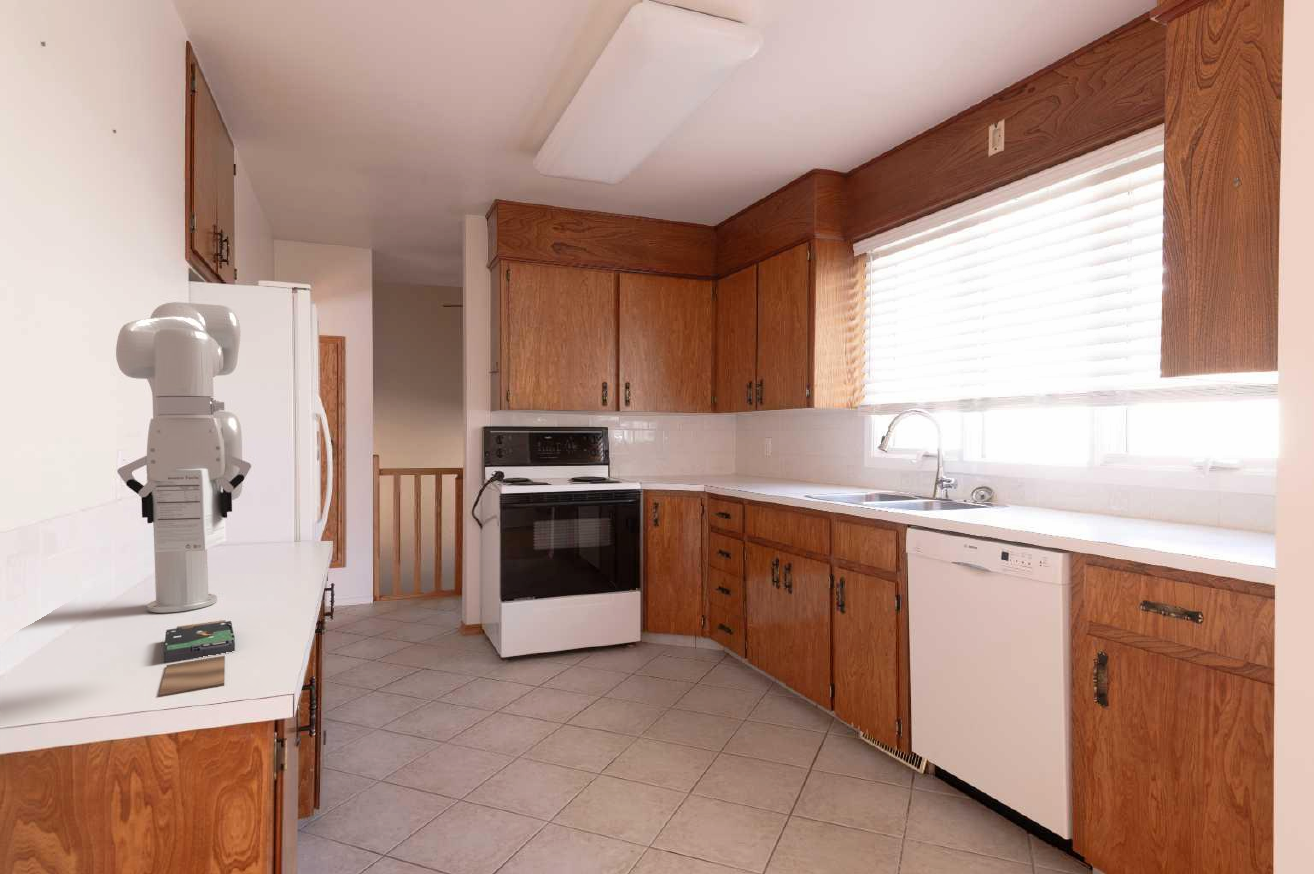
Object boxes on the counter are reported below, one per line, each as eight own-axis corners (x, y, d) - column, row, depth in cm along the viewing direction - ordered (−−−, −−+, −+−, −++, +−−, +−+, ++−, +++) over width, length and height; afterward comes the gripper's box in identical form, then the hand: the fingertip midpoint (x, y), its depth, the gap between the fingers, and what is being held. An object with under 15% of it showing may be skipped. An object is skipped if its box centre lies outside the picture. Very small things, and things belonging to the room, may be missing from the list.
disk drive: (165, 645, 128) (163, 666, 116) (164, 629, 128) (163, 649, 116) (231, 634, 134) (236, 654, 122) (231, 620, 134) (236, 637, 122)
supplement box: (178, 544, 114) (176, 466, 114) (227, 542, 115) (225, 465, 115) (152, 552, 107) (149, 469, 106) (204, 551, 108) (202, 468, 107)
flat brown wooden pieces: (177, 628, 137) (176, 626, 137) (225, 621, 141) (225, 619, 141) (159, 696, 102) (159, 694, 102) (224, 685, 106) (224, 683, 106)
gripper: (249, 409, 117) (252, 512, 118) (119, 410, 108) (122, 521, 109) (250, 408, 111) (253, 517, 111) (111, 409, 102) (115, 527, 102)
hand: (188, 519), depth 110 cm, fingers closed on supplement box, 9 cm apart
